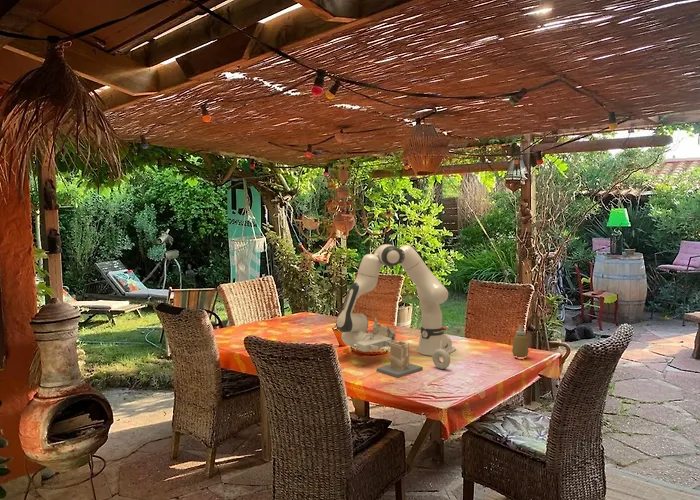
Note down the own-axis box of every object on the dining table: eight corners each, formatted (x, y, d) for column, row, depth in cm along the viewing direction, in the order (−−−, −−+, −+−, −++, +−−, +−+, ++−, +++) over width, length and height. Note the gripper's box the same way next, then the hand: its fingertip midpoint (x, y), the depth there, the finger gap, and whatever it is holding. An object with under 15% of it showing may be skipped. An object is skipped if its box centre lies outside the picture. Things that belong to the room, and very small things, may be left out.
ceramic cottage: (372, 346, 295) (374, 320, 295) (368, 340, 311) (370, 315, 311) (399, 347, 297) (401, 321, 296) (394, 341, 313) (395, 316, 313)
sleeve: (399, 364, 254) (399, 340, 253) (409, 367, 249) (409, 343, 248) (390, 367, 250) (390, 343, 249) (400, 370, 245) (400, 345, 244)
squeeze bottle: (527, 356, 272) (528, 323, 271) (528, 361, 265) (529, 326, 263) (511, 355, 275) (512, 322, 273) (512, 359, 267) (513, 325, 266)
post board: (401, 363, 261) (401, 344, 260) (422, 369, 250) (422, 350, 250) (376, 371, 249) (376, 351, 248) (397, 377, 238) (397, 357, 238)
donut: (430, 367, 255) (431, 347, 254) (435, 365, 257) (435, 346, 256) (447, 371, 247) (447, 351, 246) (451, 370, 250) (451, 350, 249)
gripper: (351, 339, 259) (370, 344, 248) (379, 332, 272) (399, 337, 262) (351, 351, 259) (370, 357, 249) (379, 344, 273) (399, 349, 263)
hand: (385, 346), depth 256 cm, fingers open, 8 cm apart
